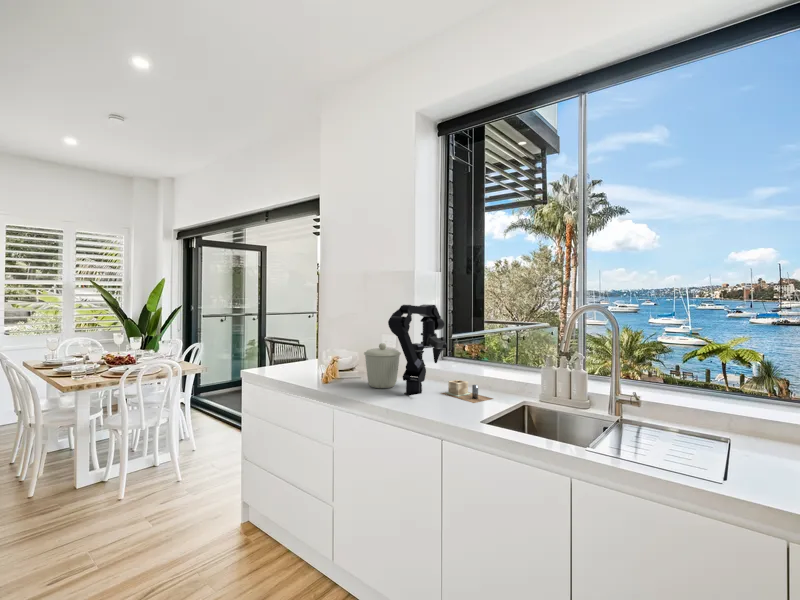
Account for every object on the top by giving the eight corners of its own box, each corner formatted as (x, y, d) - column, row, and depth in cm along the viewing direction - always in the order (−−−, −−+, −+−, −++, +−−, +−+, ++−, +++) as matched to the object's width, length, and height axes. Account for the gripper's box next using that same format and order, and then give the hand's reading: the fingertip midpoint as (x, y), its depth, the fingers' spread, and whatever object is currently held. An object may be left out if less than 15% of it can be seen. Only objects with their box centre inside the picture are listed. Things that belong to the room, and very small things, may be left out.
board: (473, 406, 169) (474, 402, 169) (440, 396, 185) (440, 392, 185) (493, 402, 176) (494, 398, 176) (459, 393, 192) (459, 389, 192)
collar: (458, 395, 180) (458, 383, 180) (448, 392, 185) (448, 381, 185) (467, 393, 184) (468, 382, 184) (458, 390, 189) (458, 379, 189)
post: (475, 399, 175) (475, 386, 175) (471, 398, 177) (471, 385, 177) (479, 398, 176) (479, 385, 176) (475, 397, 178) (475, 384, 178)
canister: (388, 392, 193) (388, 346, 193) (356, 387, 202) (356, 343, 202) (407, 385, 209) (407, 342, 208) (376, 381, 218) (377, 340, 217)
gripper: (424, 333, 187) (424, 368, 187) (454, 331, 198) (454, 364, 198) (409, 331, 196) (408, 365, 196) (438, 329, 207) (438, 361, 207)
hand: (428, 364), depth 199 cm, fingers open, 9 cm apart
